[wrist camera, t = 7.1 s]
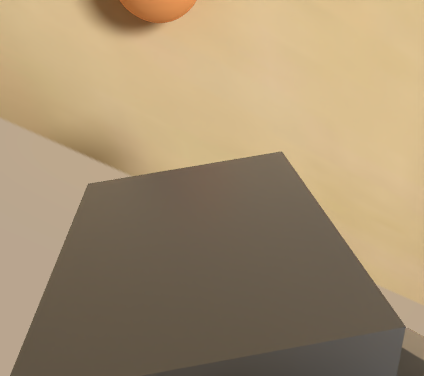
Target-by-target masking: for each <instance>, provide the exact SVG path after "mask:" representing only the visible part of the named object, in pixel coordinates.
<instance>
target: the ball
mask: <svg viewBox="0 0 424 376" xmlns="http://www.w3.org/2000/svg"><path fill="white" fill-rule="evenodd" d="M119 1H120V2H121V3H122V4H123V6H124V7H125V8H126V9H127V10H128V11H130V12H131V13H132V14H134V15H135V16H137V17H139V18H141V19H143V20H146V21H149V22H154V23H165V22H170V21H173V20H176V19H178V18H180V17H181V16H183V15H184V14H185V13H187V12H188V11H189V10H190V9H191V8H192V6H193V5H194V4H195V2H196V0H119Z"/></svg>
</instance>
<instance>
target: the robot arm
mask: <svg viewBox="0 0 424 376" xmlns="http://www.w3.org/2000/svg"><path fill="white" fill-rule="evenodd" d="M397 376H424V336H422V335H420V334H418V333H417V332H415V331H413V330H411V329H409V328H405V334H404V339H403V344H402V350H401V355H400V360H399V366H398V371H397Z"/></svg>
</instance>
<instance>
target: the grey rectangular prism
mask: <svg viewBox="0 0 424 376" xmlns="http://www.w3.org/2000/svg"><path fill="white" fill-rule="evenodd" d="M405 328H406V327H405V325H404V324H403V322H402V321H401V319H400V318H399V317H398V315H397V314H396V312H395V311H394V310H393V308H392V307H391V305H390V304H389V303H388V301H387V300H386V298H385V297H384V295H383V294H382V293H381V291H380V290H379V288H378V287H377V286H376V284H375V283H374V281H373V280H372V278H371V277H370V276H369V274H368V273H367V271H366V270H365V269H364V267H363V266H362V264H361V263H360V261H359V260H358V259H357V257H356V256H355V254H354V253H353V252H352V250H351V249H350V247H349V246H348V245H347V243H346V242H345V240H344V239H343V237H342V236H341V235H340V233H339V232H338V230H337V229H336V228H335V226H334V225H333V223H332V222H331V220H330V219H329V218H328V216H327V215H326V213H325V212H324V211H323V209H322V208H321V206H320V205H319V203H318V202H317V201H316V199H315V198H314V196H313V195H312V194H311V192H310V191H309V189H308V188H307V187H306V185H305V184H304V182H303V181H302V179H301V178H300V177H299V175H298V174H297V172H296V171H295V170H294V168H293V167H292V165H291V164H290V162H289V161H288V160H287V158H286V157H285V155H284V154H283V153H282V152H276V153H270V154H264V155H258V156H252V157H246V158H240V159H234V160H228V161H222V162H216V163H211V164H205V165H199V166H193V167H187V168H181V169H175V170H169V171H163V172H157V173H151V174H145V175H139V176H133V177H127V178H121V179H115V180H109V181H103V182H97V183H92V184H88V186H87V188H86V191H85V193H84V196H83V198H82V200H81V203H80V205H79V208H78V210H77V213H76V215H75V217H74V220H73V222H72V225H71V227H70V230H69V232H68V235H67V237H66V240H65V242H64V245H63V247H62V250H61V252H60V254H59V257H58V260H57V262H56V264H55V267H54V269H53V272H52V274H51V277H50V279H49V281H48V284H47V286H46V289H45V291H44V294H43V296H42V299H41V301H40V304H39V306H38V308H37V311H36V313H35V316H34V318H33V321H32V323H31V326H30V328H29V331H28V333H27V335H26V338H25V340H24V343H23V346H22V348H21V350H20V353H19V355H18V358H17V360H16V362H15V365H14V368H13V370H12V372H11V375H10V376H397V371H398V366H399V360H400V355H401V350H402V344H403V339H404V334H405Z"/></svg>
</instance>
